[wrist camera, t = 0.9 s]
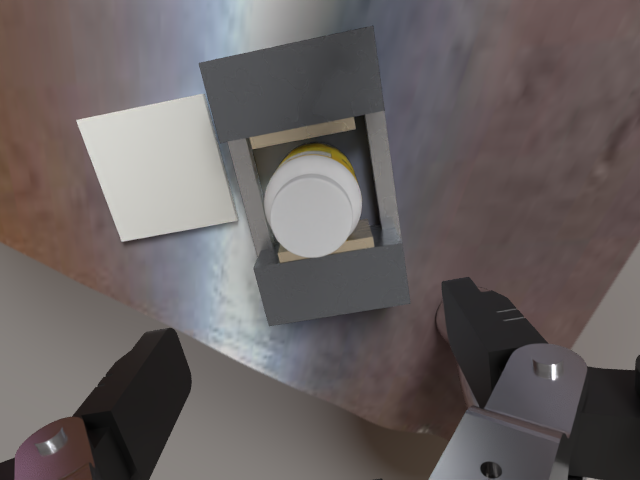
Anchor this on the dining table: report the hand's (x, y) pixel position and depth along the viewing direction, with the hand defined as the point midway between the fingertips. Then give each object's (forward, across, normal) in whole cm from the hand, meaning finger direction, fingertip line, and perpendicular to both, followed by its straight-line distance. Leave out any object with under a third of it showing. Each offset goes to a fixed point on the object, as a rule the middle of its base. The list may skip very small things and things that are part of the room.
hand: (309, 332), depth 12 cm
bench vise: (+22, 0, 0) cm, 23 cm away
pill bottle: (+23, 0, 0) cm, 23 cm away
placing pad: (+22, +12, -4) cm, 26 cm away
